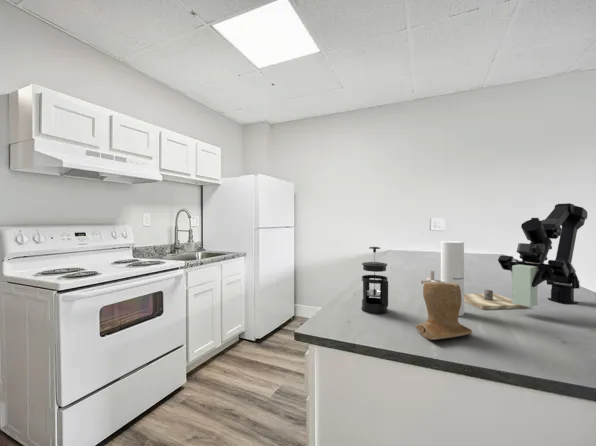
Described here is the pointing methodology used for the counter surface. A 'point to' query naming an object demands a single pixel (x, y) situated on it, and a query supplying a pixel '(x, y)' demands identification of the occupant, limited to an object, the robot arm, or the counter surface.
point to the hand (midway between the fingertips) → (522, 284)
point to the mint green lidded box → (524, 285)
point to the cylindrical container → (453, 266)
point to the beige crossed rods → (430, 278)
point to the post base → (490, 301)
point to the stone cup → (442, 311)
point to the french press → (374, 303)
